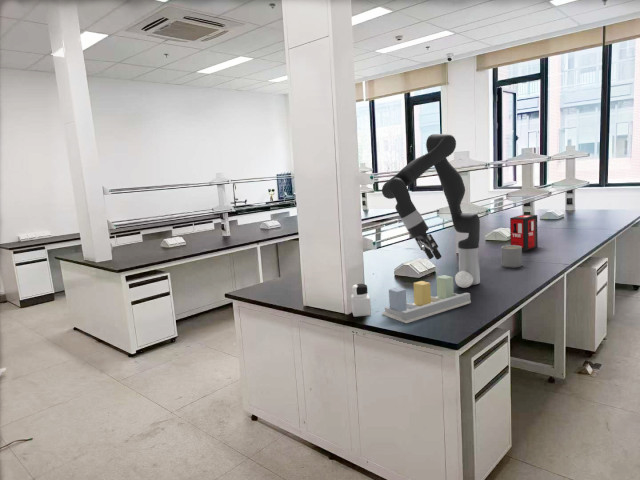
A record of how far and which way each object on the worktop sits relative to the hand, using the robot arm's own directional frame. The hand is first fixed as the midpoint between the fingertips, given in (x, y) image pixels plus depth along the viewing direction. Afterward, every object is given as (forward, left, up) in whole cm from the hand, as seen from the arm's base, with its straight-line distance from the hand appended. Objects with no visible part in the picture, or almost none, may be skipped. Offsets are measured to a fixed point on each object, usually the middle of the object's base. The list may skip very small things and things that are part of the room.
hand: (435, 258), depth 181 cm
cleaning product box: (-117, +53, -21) cm, 130 cm away
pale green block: (-9, +3, -19) cm, 21 cm away
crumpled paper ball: (-29, +12, -21) cm, 38 cm away
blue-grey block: (+9, -15, -19) cm, 26 cm away
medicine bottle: (+8, -30, -21) cm, 37 cm away
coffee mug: (-73, +40, -21) cm, 86 cm away
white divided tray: (+2, -4, -20) cm, 21 cm away
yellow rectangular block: (0, -6, -19) cm, 20 cm away
